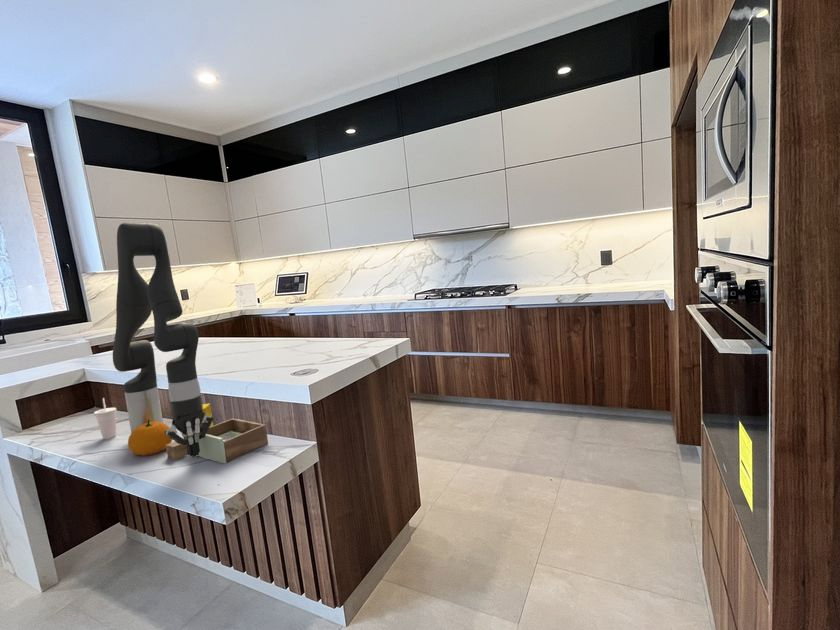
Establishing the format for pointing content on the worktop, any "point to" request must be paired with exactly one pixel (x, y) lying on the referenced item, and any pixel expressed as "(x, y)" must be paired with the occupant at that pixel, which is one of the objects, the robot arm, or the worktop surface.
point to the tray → (214, 446)
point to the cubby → (240, 437)
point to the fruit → (149, 438)
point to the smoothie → (106, 421)
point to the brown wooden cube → (176, 450)
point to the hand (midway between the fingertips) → (194, 455)
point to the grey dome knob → (226, 437)
